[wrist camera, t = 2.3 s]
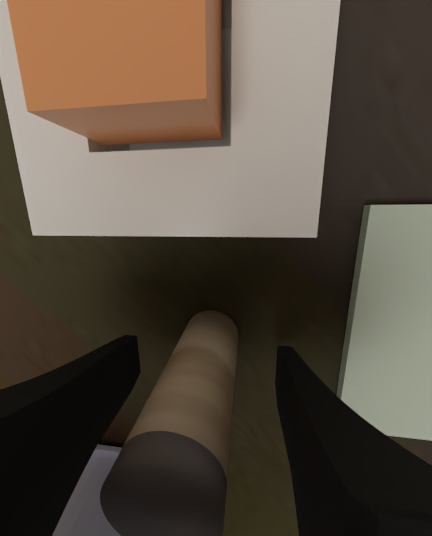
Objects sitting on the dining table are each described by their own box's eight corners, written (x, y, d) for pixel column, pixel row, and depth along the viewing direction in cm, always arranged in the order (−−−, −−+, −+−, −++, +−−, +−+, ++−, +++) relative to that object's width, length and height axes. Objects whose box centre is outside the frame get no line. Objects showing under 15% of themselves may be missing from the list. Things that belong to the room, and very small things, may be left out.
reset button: (222, 139, 7) (206, 98, 5) (103, 144, 8) (27, 111, 5) (221, -25, 6) (201, -201, 4) (86, -5, 7) (-21, -146, 4)
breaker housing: (293, 227, 11) (317, 238, 7) (99, 227, 12) (30, 235, 8) (313, -46, 9) (368, -263, 5) (68, -10, 10) (-51, -155, 6)
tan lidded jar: (238, 359, 13) (223, 568, 6) (187, 355, 14) (108, 545, 6) (239, 311, 12) (223, 475, 5) (185, 308, 13) (91, 455, 5)
